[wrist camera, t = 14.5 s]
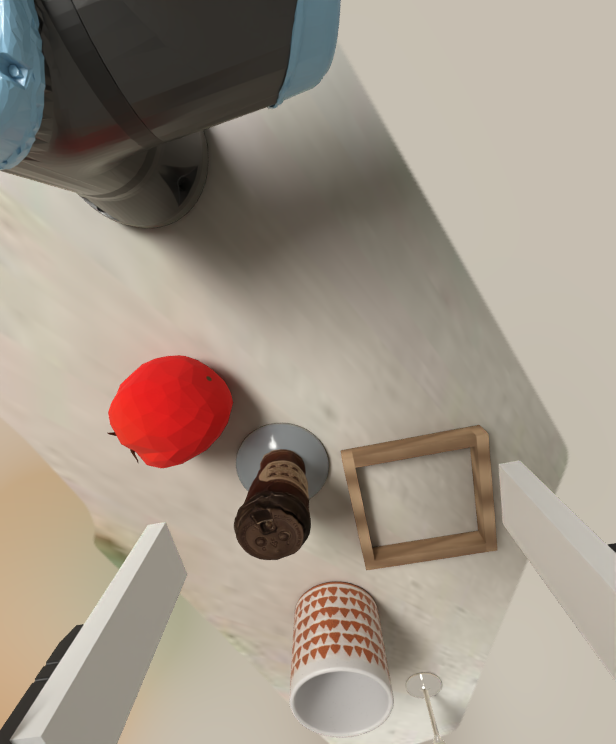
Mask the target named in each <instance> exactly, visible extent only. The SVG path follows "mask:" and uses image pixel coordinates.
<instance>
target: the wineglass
mask: <svg viewBox="0 0 616 744" xmlns="http://www.w3.org/2000/svg"><path fill="white" fill-rule="evenodd" d="M441 688H442V683H441V680H440V679H439V677H437V676H436V675H434V674H431V673H418V674H415V675H413V676H411V677H410V678H409V679H408V680H407V682H406V690H407V692H408V693H409V694H410V695H412V696H414V697H417V698H425V701H426V705H427V709H428V713H429V717H430V721H431V725H432V729H433V733H434V740H433V743H432V744H447V743H445V742H444V741H443V740H442V738H441V737H440V735H439V732H438V729H437V725H436V721H435V717H434V714H433V710H432V706H431V702H430V698H429V697H432V696H434V695H436V694H437V693H438V692H439V691H440V690H441Z"/></svg>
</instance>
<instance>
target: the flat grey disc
mask: <svg viewBox="0 0 616 744" xmlns="http://www.w3.org/2000/svg"><path fill="white" fill-rule="evenodd" d="M279 449H286V450H290V451H293V452H295V453H296V454H298V455H299V456H300V457H301V458H302V459H303V461H304V464H305V469H306V474H305V476H306V478H307V481H308V494H309V499H310V498H311V497H313V496H314V495H315V494H316V493H318V491H319V490H320V489H321V488H322V486H323V485H324V483H325V481H326V478H327V475H328V457H327V453H326V450H325V448H324V446H323V445H322V443H321V442H320V440H319V439H318V438H317V437H316V436H315V435H314V434H312V433H311V432H310V431H308V430H306V429H304V428H303V427H300V426H297V425H294V424H289V423H273V424H268V425H265V426H262V427H260V428H258V429H256V430H254V431H253V432H252V433H250V434H249V435H248V436H247V437H246V438H245V440H244V441H243V443H242V444H241V446H240V448H239V451H238V454H237V458H236V469H237V474H238V477H239V479H240V481H241V483H242V485H243V486H244V487H245V489H246V490H247V491H248V492H249V488H250V486H251V484H252V482H253V481H254V479H255V478H256V476H257V474H258V471H259V470H260V463H261V461H262V459H263V456H264V455H265V454H267V453H269V452H271V451H273V450H279Z"/></svg>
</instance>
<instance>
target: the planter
mask: <svg viewBox="0 0 616 744" xmlns="http://www.w3.org/2000/svg"><path fill="white" fill-rule="evenodd" d="M393 704H394V699H393V692H392V686H391V681H390V675H389V670H388V664H387V659H386V653H385V647H384V642H383V636H382V631H381V625H380V619H379V614H378V609H377V606H376V603H375V601H374V600H373V598H372V597H371V596H370V595H369V594H368V593H367V592H366V591H365V590H363V589H361V588H360V587H358V586H355V585H353V584H349V583H344V582H328V583H323V584H320V585H317V586H315V587H313V588H311V589H309V590H308V591H307V592H305V593H304V594H303V595H302V596H301V598H300V599H299V601H298V603H297V605H296V608H295V617H294V633H293V649H292V666H291V682H290V708H291V711H292V713H293V715H294V717H295V718H296V719H297V720H298V721H299V723H301V724H302V725H303V726H304V727H306V728H308V729H309V730H311V731H313V732H315V733H318V734H321V735H325V736H329V737H353V736H358V735H362V734H365V733H367V732H370V731H372V730H374V729H376V728H377V727H379V726H380V725H381V724H383V723H384V722H385V721H386V720H387V718H388V717H389V715H390V714H391V711H392V709H393Z"/></svg>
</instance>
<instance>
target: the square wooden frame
mask: <svg viewBox="0 0 616 744" xmlns="http://www.w3.org/2000/svg"><path fill="white" fill-rule="evenodd" d="M469 447H470V451H471V462H472V472H473V482H474V493H475V503H476V514H477V524H478V531H473V532H467V533H461V534H455V535H448V536H442V537H436V538H429V539H423V540H417V541H411V542H404V543H398V544H392V545H385V546H379V547H373V548H372V545H371V540H370V535H369V530H368V526H367V521H366V516H365V511H364V506H363V502H362V497H361V492H360V487H359V483H358V478H357V473H356V468H357V467H363V466H369V465H374V464H380V463H385V462H391V461H396V460H402V459H408V458H413V457H419V456H424V455H430V454H435V453H441V452H446V451H452V450H458V449H463V448H469ZM341 456H342V462H343V467H344V471H345V476H346V480H347V485H348V489H349V494H350V499H351V503H352V508H353V512H354V517H355V521H356V526H357V530H358V535H359V539H360V544H361V548H362V553H363V557H364V562H365V566H366V570H372V569H378V568H385V567H391V566H398V565H405V564H411V563H418V562H424V561H431V560H437V559H444V558H450V557H457V556H463V555H470V554H476V553H483V552H489V551H496V550H497V539H496V526H495V513H494V501H493V488H492V475H491V462H490V449H489V436H488V433H487V432H486V431H485V430H484V429H483V428H482V427H481V426H480V425H476V426H471V427H465V428H460V429H455V430H449V431H444V432H438V433H433V434H428V435H422V436H417V437H411V438H406V439H401V440H395V441H390V442H384V443H379V444H373V445H368V446H363V447H357V448H352V449H346V450H341Z"/></svg>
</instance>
